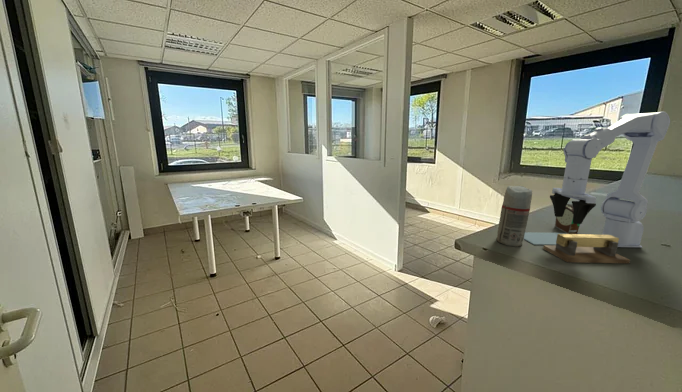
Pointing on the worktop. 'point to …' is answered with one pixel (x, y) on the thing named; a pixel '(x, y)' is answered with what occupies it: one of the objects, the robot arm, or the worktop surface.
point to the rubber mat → (541, 238)
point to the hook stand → (587, 253)
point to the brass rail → (586, 240)
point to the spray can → (514, 215)
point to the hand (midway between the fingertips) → (567, 219)
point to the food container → (567, 221)
